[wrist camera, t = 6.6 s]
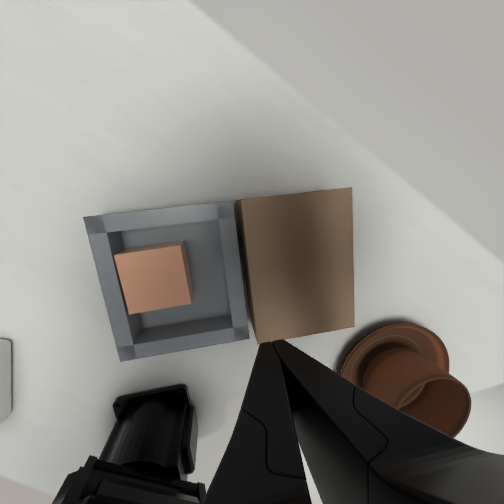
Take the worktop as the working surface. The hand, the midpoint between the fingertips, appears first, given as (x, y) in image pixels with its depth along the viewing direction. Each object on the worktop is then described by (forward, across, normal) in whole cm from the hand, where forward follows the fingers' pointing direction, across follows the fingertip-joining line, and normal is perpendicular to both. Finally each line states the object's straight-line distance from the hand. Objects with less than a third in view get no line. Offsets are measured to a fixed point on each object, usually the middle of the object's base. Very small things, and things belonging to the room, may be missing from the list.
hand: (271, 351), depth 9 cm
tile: (+10, +6, 0) cm, 12 cm away
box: (+13, +5, 0) cm, 14 cm away
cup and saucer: (+13, -14, +14) cm, 24 cm away
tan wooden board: (+13, -4, 0) cm, 14 cm away
